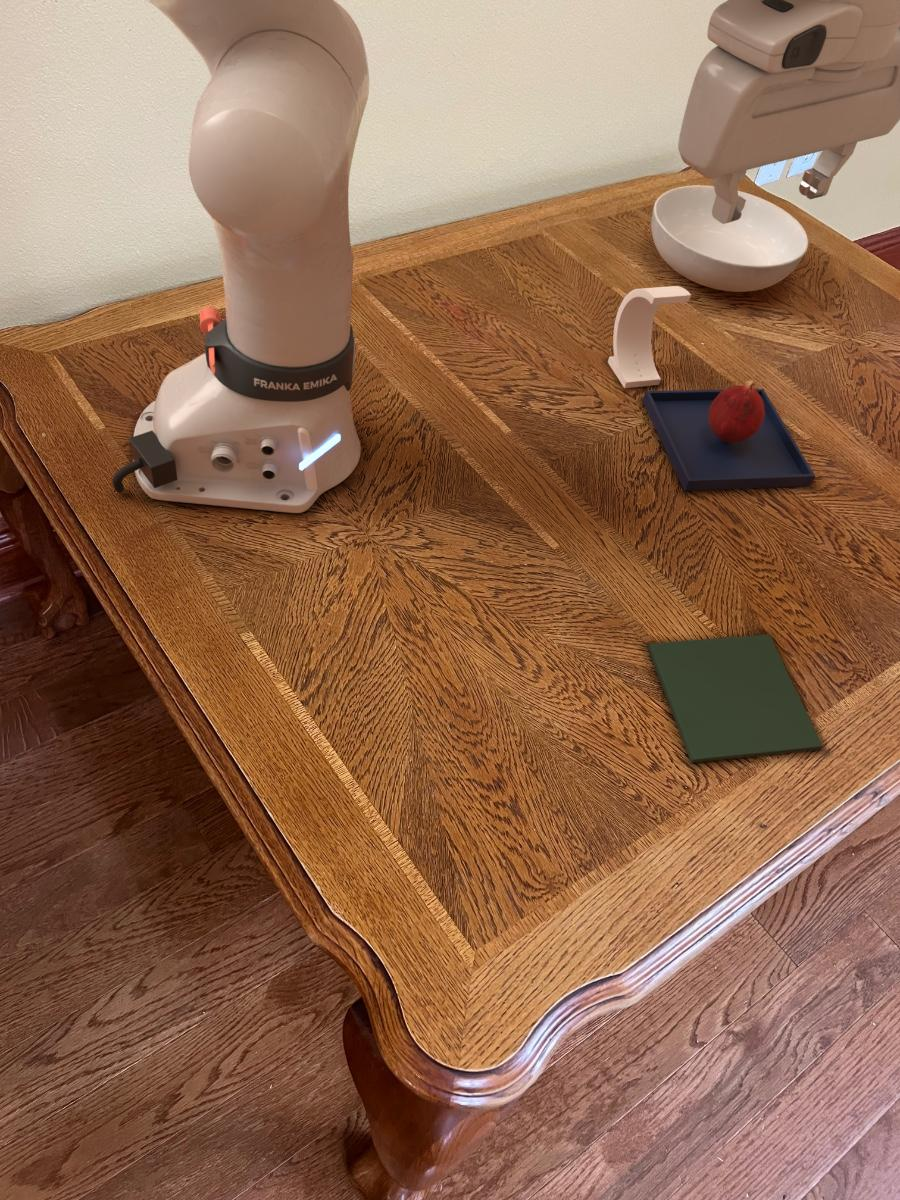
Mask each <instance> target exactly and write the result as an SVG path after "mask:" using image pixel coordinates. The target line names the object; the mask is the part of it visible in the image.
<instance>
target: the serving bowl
mask: <svg viewBox="0 0 900 1200" xmlns="http://www.w3.org/2000/svg"><path fill="white" fill-rule="evenodd" d="M738 196H741V197H742V198H744V199H745V200H746V202H745V205H744V208H743V210H742V211H741V213H742V215H741V218H740V219H739V220H736V221H732V222H729V223H725V224H722V223H721V222H719V221H718V220H716V219H715V218H713V215H712V208H713V205H714V201H715V198H716V193H715V189H714V185H707V184H706V185H703V184H698V185H697V184H695V185H694V184H691V185H684V186H679V187H674V188H672V189H669V190H667V191H665V192H663V193H662V194H661V195H660V196H658V197H657V199H656V200H655V202H654V205H653V207H652V208H653V209H652V213H651V228H650V229H651V236H652V240H653V243H654V246H655V248H656V250H657V252H658V254H659V255H660V257H661V258H662V260H663V261H664V262H665V263H666V264H667V265H668V266H669V267H670V268H671V269H672V270H673V271H675V272H676V273H678V274H679V275H680V276H683V278H686V279H687V280H689V281H691V282H693V283H696V284H697V285H701V286H704V287H707V288H710V289H714V290H720V291H724V292H734V293H745V292H755V291H759V290H760V291H761V290H764V289H766V288H769V287H772V286H775V285H776V284H778V283H779V282H781V281H783V280H785V278H787V277H789V275H791V274H792V272H793V271H794V270H796V268H797V267H798V266H799V264H800V263H801V261H802V260H803V258H804V257H805V255H806V253H807V252H808V248H809V237H808V234H807V232H806V231H805V228H804V227H803V226H802V224H801V223H800V222H799V221H798V220H797V219H796V217H794V216H793V215H792V214H790V212H787V211H786V210H785V209H783V208H781V207H780V206H778V205H776V204H774V203H772V202H770V201H768V200H767V199H764V198H762V197H759V196H757V195H754V194H752V193H748V192H746V191H745V192H744V191H741V190H738Z"/></svg>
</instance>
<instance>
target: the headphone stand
mask: <svg viewBox="0 0 900 1200" xmlns="http://www.w3.org/2000/svg"><path fill="white" fill-rule="evenodd" d="M691 297H692V294H691V292H689V291H688V290H687V289H686V288H684V287H683V286H680V285H671V286H669V285H668V286H657V287H642V288H635V289H633V290H631V291H629V292H628V293H627V294H626V295H625V296H624V298H622V301H621V303H620V304H619V307H618V309H617V313H616V316H615V320H614V325H613V334H612V335H613V337H612V348H613V349H612V350H613V355H611V356H609V357H608V360H607V364H608V366H609V367H610V368H611V370H612V371H613V373H614V375H615V376H616V378H617V379H618V381H619V383H620V384H621V385H622V387H623V388H624V389H631V388H639V387H640V388H641V387H650V386H651V387H652V386H658V385H660V382H661V380H662V378H661V376H660V375H659V373H658V370H657V367H656V365H655V362H654V357H653V349H652V333H653V326H654V325H653V324H654V320H655V316H656V314H657V311H658V309H659V307H660V305H667V304H678V303H679V304H680V303H689V302H690V301H691Z"/></svg>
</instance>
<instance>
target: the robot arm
mask: <svg viewBox="0 0 900 1200" xmlns="http://www.w3.org/2000/svg"><path fill="white" fill-rule="evenodd" d="M145 1H146V2H148V3H150V4H152V5H153V6H154V7H155V8H157V9H158V10H159V11H160V12H161V13H162V14H163V15H164V16H165V17H166V18H167V19H168V20H169V21H170V22H171V23H172V24H173V25H174V26H175V27H176V28H177V30H178V31H179V32H180V33H181V34H182V35H183V36H184V38H185V39H186V40H187V41H188V42H189V43H190V44H191V45H192V47H193V48H194V49H195V50H196V52H197V53H198V54H199V55H200V57H201V58H202V60H203V62H204V63H205V65H206V67H207V69H208V72H209V74H210V77H211V78H210V80H209V82H208V83H207V85H206V86H205V88H204V90H203V92H202V93H201V96H200V97H199V100H197V104H196V107H195V109H194V114H193V118H192V123H191V124H192V125H191V129H190V130H191V131H190V136H189V145H188V146H189V147H188V173H189V177H190V178H189V179H190V181H191V185H192V189H193V191H194V193H195V195H196V197H197V199H198V201H199V202H200V204H201V205H202V207H203V208H204V210H205V211H206V213H207V214H208V215H209V216H210V217H211V222H212V224H213V228H214V232H215V235H216V239H217V244H218V248H219V253H220V258H221V268H222V269H221V271H222V281H223V293H224V307H225V318H224V319H223V320H222V318H223V317H222V316H223V315H222V314H221V311H219V309H218V308H217V307H213V306H206V307H204V308H202V309H201V311H199V318H198V319H199V321H200V322H199V330H200V331H201V333H203V335H204V351H205V352H203V353H202V354H200V355H198V356H197V357H195V358H193V359H191V360H190V361H188V362H186V363H184V364H183V365H181V366H179V367H177V368H175V369H173V370H171V371H170V372H169V373H168V374H167V375H166V376H165V377H164V379H163V380H162V382H161V384H160V386H159V389H158V392H157V395H156V399H155V400H153V401H151V403H149V404H148V406H146V407H145V408H144V410H143V411H142V412H141V414H140V416H139V418H138V419H137V422H136V424H135V427H134V431H133V436H131V437H129V438H128V441H129V442H128V443H129V447H130V452H131V453H130V454H131V458H132V461H131V462H129V463H127V464H126V465H124V466H122V467H120V468H119V469H118V470H116V472H115V473H114V475H113V476H112V485H113V488H114V492H116V493H123V492H124V490H125V486H124V483H123V480H124V479H125V478H126V477H127V476H129V475H131V474H132V473H134V474H135V478H136V480H137V483H138V484H139V486H140V488H141V489H142V491H143V492H144V493H145V494H146V495H147V496H148V497H149V498H150V499H153V500H157V501H166V502H176V503H187V504H197V505H207V506H217V507H228V508H239V509H248V510H249V509H250V510H260V511H269V512H278V513H279V512H280V513H290V514H301V513H304V512H306V511H308V510H309V509H310V508H311V507H312V506H313V505H314V503H315V502H316V501H317V500H318V499H319V497H320V496H321V495H322V494H324V493H325V492H326V491H329V490H330V489H332V488H334V487H336V486H337V485H339V484H342V482H344V481H345V480H346V479H347V478H348V477H349V476H350V475H351V474H352V473H353V472H354V471H355V469H356V468H357V466H358V464H359V461H360V458H361V452H362V449H361V448H362V446H361V441H360V438H359V435H358V433H357V429H356V428H357V427H356V425H355V420H354V415H353V408H352V400H351V390H352V385H353V378H354V377H355V365H356V340H355V335H354V329H353V326H352V324H351V322H352V321H351V320H352V319H351V318H352V297H353V296H352V295H353V276H354V251H353V247H352V244H351V243H352V242H351V233H350V219H349V218H350V215H349V213H350V212H349V189H350V188H349V186H350V177H351V176H350V175H351V169H352V163H353V158H354V153H355V148H356V143H357V140H358V136H359V131H360V127H361V123H362V119H363V117H364V113H365V110H366V106H367V103H368V100H369V93H370V71H369V63H368V57H367V52H366V47H365V43H364V40H363V37H362V34H361V31H360V29H359V27H358V26H357V24H356V22H355V21H354V19H353V17H352V16H351V15H350V14H349V12H348V11H347V10H346V9H345V8H344V7H343V6H342V5H341V4H339V2H337V1H335V0H145ZM707 39H708V40H709V41H710V42H712V43H713V44H715V45H716V46H715V47H713V48H712V49H711V50H709V51H708V53H706V55H705V56H704V58H703V59H702V61H701V62H700V64H699V66H698V68H697V71H696V73H695V76H694V78H693V81H692V85H691V89H690V92H689V96H688V98H687V103H686V107H685V109H684V114H683V118H682V122H681V126H680V130H679V136H678V144H677V149H678V152H679V155H680V158H681V160H682V162H683V163H684V164H685V165H686V166H688V167H689V168H691V169H692V170H694V171H695V172H696V173H698V174H700V175H701V176H702V177H705V178H707V179H710V180H712V184H713V185H712V186H714V189H715V193H716V198H715V201H714V205H713V208H712V215H713V218H715V219H716V220H718V221H719V222H721V223H722V224H725V223H729V222H732V221H736V220H739V219H740V218H741V215H742V213H741V211H742V210H743V208H744V205H745V202H746V200H745V199H744V198H742V197H741V196H738V191H739V190H738V184H740V183H743V182H744V180H745V177H746V174H747V171H749V170H752V169H757V168H760V167H765V166H768V165H772V164H773V165H774V164H776V163H781V162H784V161H789V160H792V159H796V158H801V157H804V156H807V155H811V154H815V153H816V154H817V153H819V152H820V154H819V156H818V158H817V159H816V160H815V162H814V164H813V165H812V167H811V168H808V169H805V170H804V172H803V175H802V180H801V182H800V184H799V186H798V191H799V193H800V195H802V196H805V197H806V198H807V199H809V200H813V199H817V198H822V197H825V196H827V194H828V193H829V189H830V187H831V184H832V182H833V179H834V177H835V176H836V175H837V174H838V173H839V172H840V170H841V169H842V168H843V167H844V165H845V164H846V163H847V162H848V160H849V159H850V158H851V156H852V155H853V154H854V152H855V149H856V147H857V144H858V142H862V141H867V140H870V139H874V138H877V137H878V138H879V137H883V136H885V135H888V134H889V133H890V132H891V131H892V130H893V129H894V128H895V127H896V125H897V124H898V123H899V121H900V0H726V1H724V2H723V3H721V4H720V5H718V6H717V7H716V8H715V9H714V10H713V12H712V14H711V16H710V18H709V22H708V27H707Z"/></svg>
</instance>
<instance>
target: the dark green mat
mask: <svg viewBox="0 0 900 1200" xmlns="http://www.w3.org/2000/svg"><path fill="white" fill-rule="evenodd" d="M646 648H647V651H648V653H649V656H650V658H651V661H652V663H653V666H654V670H655V672H656V674H657V677H658V679H659V680H658V681H659V682H660V685H661V688H662V690H663V693H664V695H665V698H666V701H667V703H668V706H669V709H670V711H671V714H672V717H673V719H674V722H675V724H676V727H677V730H678V733H679V735H680V738H681V741H682V743H683V745H684V749H685V751H686V754H687V756H688V759H689V761H690V764H694V763H695V764H696V763H704V762H715V761H724V760H733V759H742V758H743V759H745V758H751V757H753V758H754V757H762V756H771V755H780V754H792V753H801V752H811V751H819V750H821V749H822V748H823V747H824V745H823V744H822V741H821V739H820V737H819V735H818V733H817V730H816V729H815V727H814V724H813V722H812V720H811V718H810V716H809V714H808V712H807V710H806V708H805V706H804V704H803V701H802V700H801V697H800V695H799V694H798V691H797V689H796V687H795V685H794V683H793V681H792V679H791V677H790V674H789V673H788V671H787V668H786V666H785V664H784V662H783V660H782V658H781V656H780V653H779V652H778V650H777V647H776V645H775V644H774V641H773V639H772V637H771V635H770V634H769V633H768V634H756V635H744V636H743V635H742V636H730V637H716V638H715V637H714V638H703V639H702V638H701V639H691V640H690V639H689V640H688V639H687V640H676V641H664V642H663V641H662V642H649V643H648V645H647V647H646Z"/></svg>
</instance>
